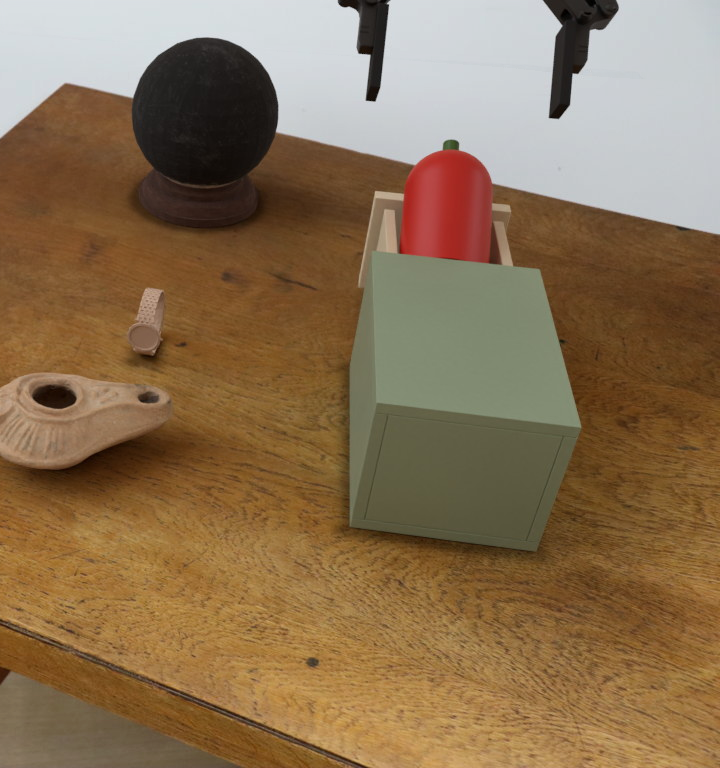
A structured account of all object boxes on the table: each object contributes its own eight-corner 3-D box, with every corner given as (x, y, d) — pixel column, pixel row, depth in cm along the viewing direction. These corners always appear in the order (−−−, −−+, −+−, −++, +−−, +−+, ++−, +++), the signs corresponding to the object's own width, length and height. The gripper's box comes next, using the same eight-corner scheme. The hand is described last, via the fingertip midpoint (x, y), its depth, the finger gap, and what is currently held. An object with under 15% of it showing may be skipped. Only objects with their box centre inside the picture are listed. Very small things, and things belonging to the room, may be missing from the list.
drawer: (358, 248, 96) (374, 161, 91) (479, 262, 96) (502, 174, 90) (359, 400, 79) (379, 303, 74) (507, 418, 78) (538, 321, 73)
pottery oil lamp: (188, 473, 73) (162, 425, 67) (17, 517, 75) (-24, 474, 69) (167, 362, 77) (141, 308, 72) (6, 406, 79) (-33, 357, 73)
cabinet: (349, 365, 84) (371, 250, 78) (505, 384, 83) (539, 268, 77) (349, 527, 70) (376, 402, 64) (536, 552, 69) (581, 427, 63)
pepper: (475, 301, 83) (482, 170, 87) (499, 264, 77) (505, 124, 81) (390, 290, 84) (400, 160, 87) (406, 253, 78) (417, 115, 81)
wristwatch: (125, 362, 83) (127, 306, 80) (139, 328, 87) (142, 273, 84) (160, 368, 83) (164, 312, 80) (173, 333, 86) (177, 279, 83)
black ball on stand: (271, 237, 99) (291, 75, 90) (124, 228, 99) (130, 66, 90) (264, 170, 110) (282, 20, 101) (131, 162, 110) (137, 11, 101)
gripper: (331, -205, 82) (300, 65, 79) (678, -180, 80) (658, 98, 77) (322, -143, 90) (293, 106, 87) (639, -119, 87) (620, 137, 85)
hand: (465, 103), depth 82 cm, fingers open, 13 cm apart
